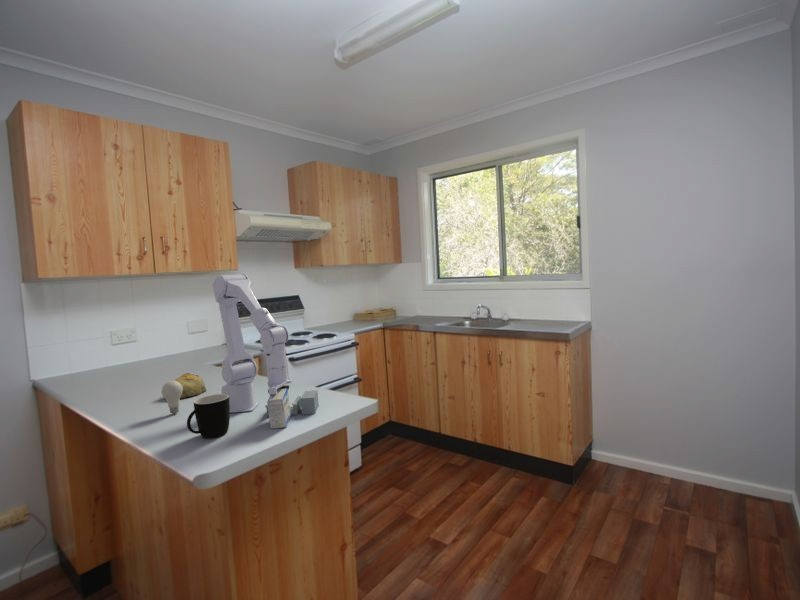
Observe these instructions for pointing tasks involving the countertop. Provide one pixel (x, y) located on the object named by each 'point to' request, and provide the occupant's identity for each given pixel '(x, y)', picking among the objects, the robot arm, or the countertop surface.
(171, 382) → the lightbulb
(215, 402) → the mug
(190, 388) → the pastry
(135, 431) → the countertop surface
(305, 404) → the dispenser
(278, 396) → the medicine box
